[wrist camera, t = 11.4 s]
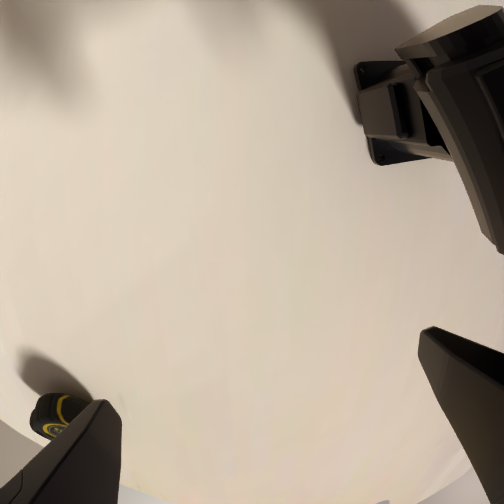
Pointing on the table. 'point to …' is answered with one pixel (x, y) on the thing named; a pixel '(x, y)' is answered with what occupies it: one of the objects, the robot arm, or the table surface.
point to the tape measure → (55, 413)
